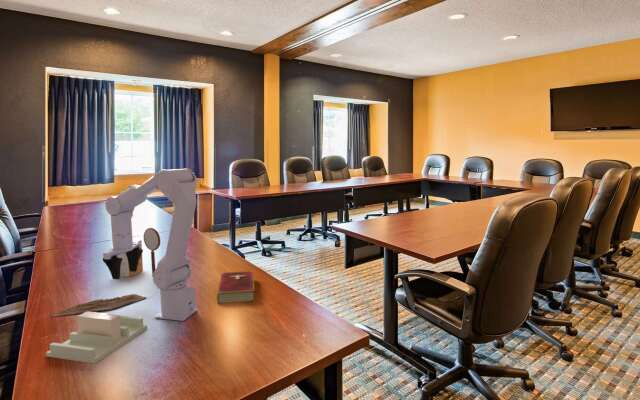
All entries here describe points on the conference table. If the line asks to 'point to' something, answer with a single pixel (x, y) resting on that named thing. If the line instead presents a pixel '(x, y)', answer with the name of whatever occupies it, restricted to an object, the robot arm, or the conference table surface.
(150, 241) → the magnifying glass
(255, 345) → the conference table surface
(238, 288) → the hardcover book
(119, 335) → the beige rectangular block
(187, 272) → the robot arm
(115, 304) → the wooden fragment
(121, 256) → the small box
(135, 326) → the rack
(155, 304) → the conference table surface
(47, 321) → the conference table surface
